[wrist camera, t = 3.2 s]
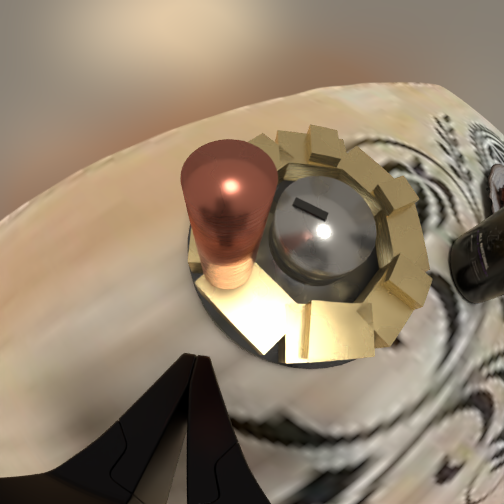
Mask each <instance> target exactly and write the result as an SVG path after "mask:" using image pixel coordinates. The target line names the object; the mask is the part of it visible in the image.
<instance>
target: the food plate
mask: <svg viewBox="0 0 504 504" xmlns="http://www.w3.org/2000/svg"><path fill="white" fill-rule="evenodd" d="M488 186H489V187H488V189H489V188H490V189H491V191H490V192H489V198H491V199H492V202H493V205H492V206H491V210H492V213H493V214H494V213H495V212H497V211H498V210H499V209H501V208H502V207H504V166H503V165H501V164H495V165H493V166H492V167H491V171H490V175H489V176H488ZM488 189H486V190H488Z"/></svg>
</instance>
